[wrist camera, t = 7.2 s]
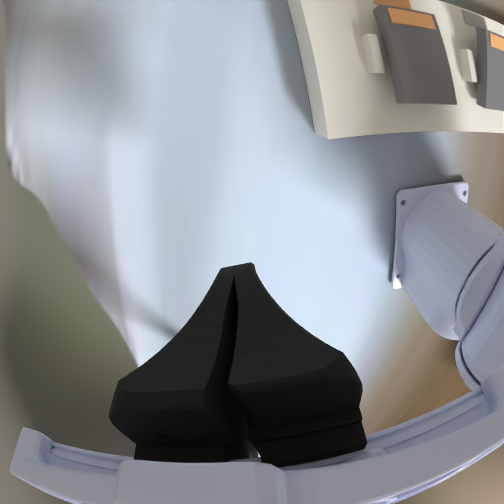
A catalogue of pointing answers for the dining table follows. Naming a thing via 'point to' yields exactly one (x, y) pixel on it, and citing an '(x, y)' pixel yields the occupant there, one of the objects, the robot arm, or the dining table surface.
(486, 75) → the rocker
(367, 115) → the switch panel
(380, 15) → the rocker
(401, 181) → the dining table surface
